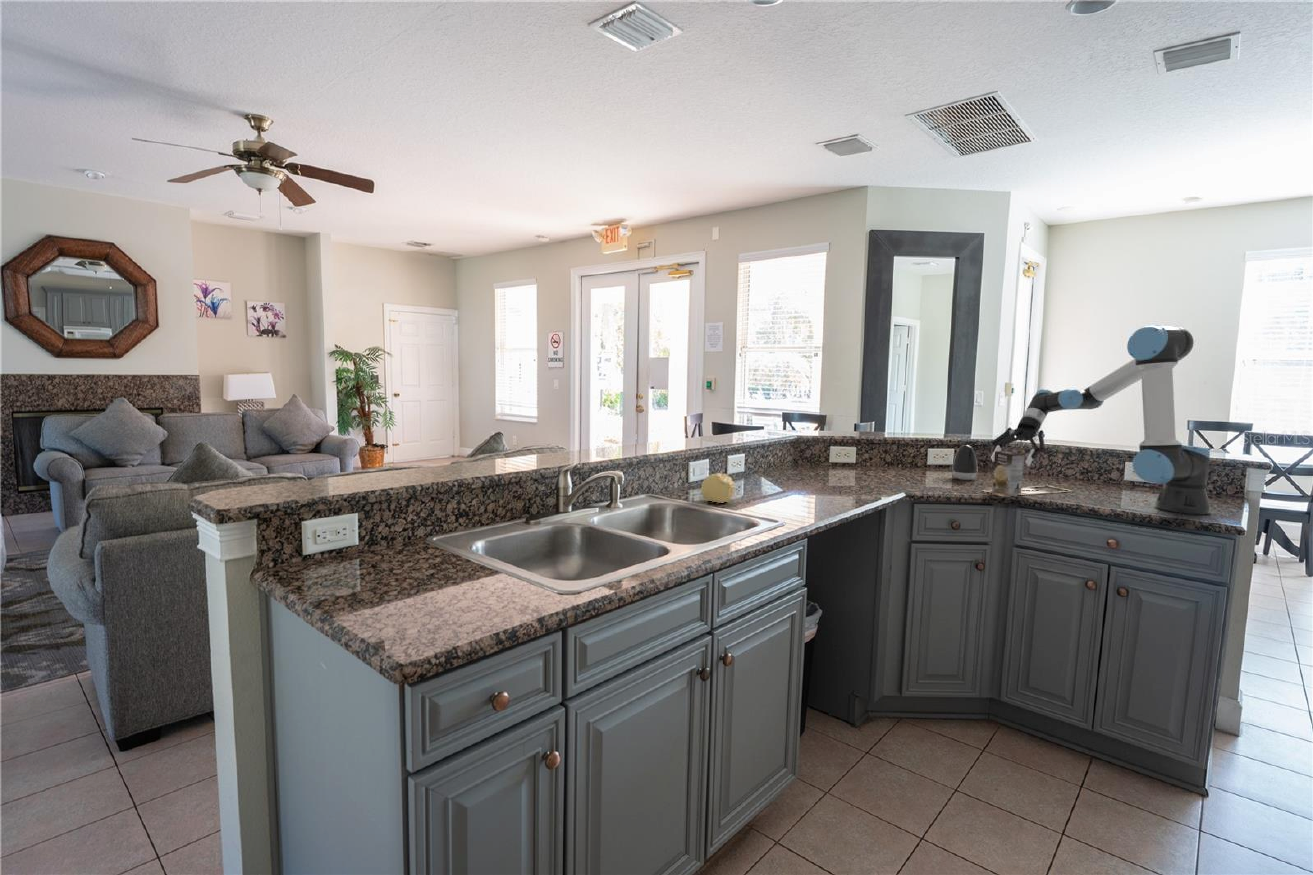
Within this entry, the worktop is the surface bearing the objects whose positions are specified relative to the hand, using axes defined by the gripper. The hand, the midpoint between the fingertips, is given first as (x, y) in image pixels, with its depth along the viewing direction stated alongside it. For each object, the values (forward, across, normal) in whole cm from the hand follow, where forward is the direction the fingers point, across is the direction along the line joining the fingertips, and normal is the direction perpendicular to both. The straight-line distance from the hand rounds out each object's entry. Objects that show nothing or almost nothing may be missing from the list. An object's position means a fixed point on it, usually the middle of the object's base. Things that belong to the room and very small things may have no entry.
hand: (1009, 461), depth 258 cm
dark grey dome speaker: (0, +26, -18) cm, 31 cm away
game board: (+3, -4, -15) cm, 15 cm away
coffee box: (+10, -1, -7) cm, 12 cm away
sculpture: (+86, +47, +70) cm, 120 cm away
